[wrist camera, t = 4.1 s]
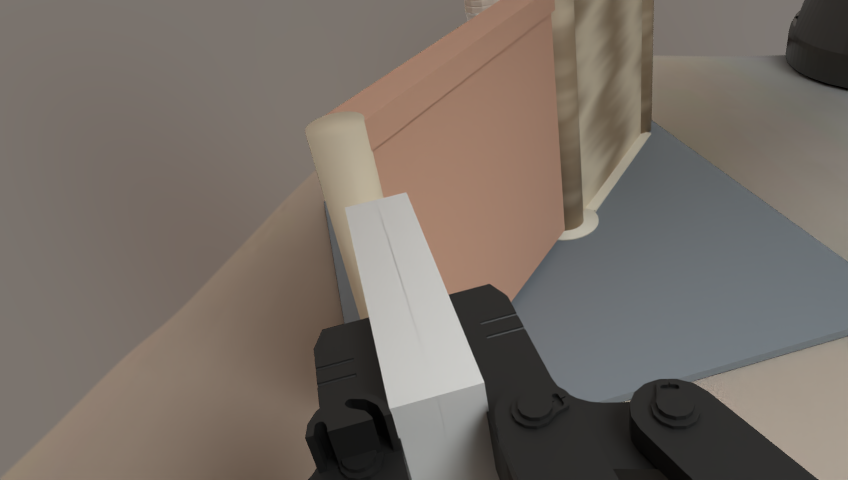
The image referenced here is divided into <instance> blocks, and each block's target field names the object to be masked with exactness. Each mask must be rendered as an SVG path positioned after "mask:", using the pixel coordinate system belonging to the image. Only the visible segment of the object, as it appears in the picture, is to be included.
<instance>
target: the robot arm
mask: <svg viewBox="0 0 848 480" xmlns="http://www.w3.org/2000/svg"><path fill="white" fill-rule="evenodd" d="M786 59H787V61H788V63H789V64H790V65H791V66H792V67H793V68H794V69H795V70H797V71H798V72H800V73H802V74H804V75H806V76H808V77H810V78H813V79H815V80H818V81H821V82H825V83H828V84H832V85H836V86H840V87H845V88H848V0H805V1H804V3H803V6H802V8H801V11H799V12H798V13H797V14H796V16H795V17H794V19H793V21H792V23H791V26H790V29H789V35H788V42H787V49H786ZM345 211H346V215H347V220H348V224H349V229H350V233H351V238H352V242H353V247H354V251H355V256H356V261H357V265H358V270H359V274H360V279H361V283H362V288H363V292H364V297H365V301H366V306H367V310H368V315H369V317H368V318H365V319H361V320H357V321H353V322H349V323H346V324H342V325H338V326H334V327H331V328H327V329H323V330H322V332H321V334H320V336H319V338H318V341H317V343H316V345H315V348H314V356H315V366H316V371H317V372H316V376H317V385H318V397H319V407H320V409H318V410H317V411H316V412H315V414H314V415H313V417H312V418H311V420H310V421H309V423H308V425H307V431H306V437H305V439H306V441H307V444H308V446H309V449H310V451H311V454H312V456H313V459H314V461H315V464H316V467H317V469H316V470H315V472H314V473H313V475H312V476H311V477H310V478H309V479H308V480H818V479H817V478H815V477H814V476H813V475H812V474H810V473H809V472H808V471H807V470H805V469H804V468H803V467H802V466H800V465H799V464H798V463H797V462H795V461H794V460H793V459H792V458H790V457H789V456H788V455H787V454H785V453H784V452H783V451H782V450H780V449H779V448H778V447H777V446H775V445H774V444H773V443H772V442H770V441H769V440H768V439H767V438H765V437H764V436H763V435H762V434H760V433H759V432H758V431H757V430H755V429H754V428H753V427H752V426H750V425H749V424H748V423H747V422H745V421H744V420H743V419H742V418H740V417H739V416H738V415H737V414H735V413H734V412H733V411H732V410H730V409H729V408H728V407H727V406H725V405H724V404H723V403H722V402H720V401H719V400H718V399H717V398H715V397H714V396H713V395H712V394H710V393H709V392H708V391H706V390H704V389H703V388H701V387H699V386H697V385H696V384H694V383H691V382H687V381H683V380H679V379H658V380H654V381H651V382H648V383H645V384H644V385H642V386H641V387H640V388H639V389H638V390H636V391H635V392H634V394H633V396H632V399H631V401H630V402H610V403H602V402H590V401H586V400H582V399H578V398H576V397H574V396H572V395H570V394H569V393H568V392H567V391H566V390H564V389H562V388H560V387H559V386H557V384H556V383H555V382H554V380H553V379H552V377H551V376H550V374H549V372H548V370H547V368H546V366H545V364H544V363H543V361H542V359H541V357H540V355H539V353H538V352H537V350H536V348H535V346H534V344H533V342H532V340H531V339H530V337H529V335H528V333H527V331H526V329H524V326H523V324H522V322H521V320H520V318H519V316H517V313H516V311H515V309H514V307H513V305H512V303H511V302H510V300H509V298H508V296H507V295H506V294H504V293H503V292H501V291H500V290H498V289H497V288H495V287H494V286H492V285H491V284H487V285H483V286H479V287H475V288H472V289H468V290H464V291H460V292H457V293H453V294H449V295H448V293H447V290H446V288H445V285H444V283H443V280H442V278H441V275H440V273H439V271H438V268H437V266H436V263H435V261H434V258H433V256H432V254H431V251H430V249H429V246H428V244H427V241H426V239H425V236H424V234H423V232H422V229H421V227H420V224H419V222H418V219H417V217H416V214H415V212H414V210H413V207H412V205H411V202H410V200H409V197H408V195H407V193H406V192H405V193H401V194H397V195H393V196H389V197H385V198H381V199H377V200H373V201H369V202H365V203H361V204H357V205H353V206H349V207H345Z"/></svg>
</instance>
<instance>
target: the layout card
mask: <svg viewBox="0 0 848 480" xmlns="http://www.w3.org/2000/svg"><path fill="white" fill-rule="evenodd" d="M324 205H325V211H326V217H327V223H328V229H329V235H330V241H331V247H332V253H333V258H334V264H335V270H336V276H337V282H338V288H339V294H340V300H341V306H342V312H343V318H344V324H346V323H349V322H353V321H357V320H360V316H359V313H358V310H357V306H356V303H355V299H354V296H353V293H352V289H351V286H350V282H349V279H348V276H347V272H346V269H345V266H344V262H343V259H342V255H341V252H340V249H339V245H338V242H337V239H336V235H335V232H334V228H333V225H332V222H331V218H330V215H329V212H328V208H327V205H326V201H324ZM583 218H584V221H583V223H582V225H581V226H579V227H578V228H575V229H573V230H568V231H564V232H563V233H562V234H561V236H560V237H559V239H558V240H557V241H556V243H555V244H554V245H553V247H552V248H551V249H550V251H549V252H548V253H547V255H546V256H545V257H544V259H543V260H542V261H541V263H540V264H539V265H538V267H537V268H536V269H535V271H534V272H533V273H532V275H531V276H530V277H529V279H528V280H527V281H526V283H525V284H524V285H523V287H522V288H521V289H520V291H519V292H518V293H517V295H516V296H515V298H514V299H513V300H512V302H511V303H512V305H513V307H514V309H515V311H516V313H517V316H519V318H520V320H521V322H522V324H523V326H524V329H526V331H527V333H528V335H529V337H530V339H531V340H532V342H533V344H534V346H535V348H536V350H537V352H538V353H539V355H540V357H541V359H542V361H543V363H544V364H545V366H546V368H547V370H548V372H549V374H550V376H551V377H552V379H553V380H554V382H555V383H556V384H557V386H559V387H560V388H562V389H564V390H566V391H567V392H568V393H569V394H570V395H572V396H574V397H576V398H578V399H582V400H586V401H590V402H602V403H610V402H623V401H627V400H630V399H632V396H633V394H634V392H635V391H636V390H638V389H639V388H640V387H641V386H642V385H644V384H645V383H648V382H651V381H654V380H658V379H679V380H683V381H687V382H692V381H695V380H699V379H702V378H705V377H709V376H712V375H716V374H719V373H723V372H726V371H729V370H733V369H736V368H740V367H743V366H746V365H750V364H753V363H757V362H760V361H764V360H767V359H770V358H774V357H777V356H781V355H784V354H788V353H791V352H794V351H798V350H801V349H805V348H808V347H811V346H815V345H818V344H822V343H825V342H829V341H832V340H835V339H839V338H842V337H846V336H848V262H847V261H846V260H844V259H843V258H842V257H840V256H839V255H838V254H836V253H835V252H833V251H832V250H831V249H829V248H828V247H826V246H825V245H824V244H822V243H821V242H820V241H818V240H817V239H815V238H814V237H813V236H811V235H810V234H808V233H807V232H806V231H804V230H803V229H802V228H800V227H799V226H797V225H796V224H795V223H793V222H792V221H790V220H789V219H788V218H786V217H785V216H784V215H782V214H781V213H779V212H778V211H777V210H775V209H774V208H772V207H771V206H770V205H768V204H767V203H766V202H764V201H763V200H761V199H760V198H759V197H757V196H756V195H754V194H753V193H752V192H750V191H749V190H748V189H746V188H745V187H743V186H742V185H741V184H739V183H738V182H736V181H735V180H734V179H732V178H731V177H730V176H728V175H727V174H725V173H724V172H723V171H721V170H720V169H718V168H717V167H716V166H714V165H713V164H711V163H710V162H709V161H707V160H706V159H705V158H703V157H702V156H700V155H699V154H698V153H696V152H695V151H693V150H692V149H691V148H689V147H688V146H687V145H685V144H684V143H682V142H681V141H680V140H678V139H677V138H675V137H674V136H673V135H671V134H670V133H669V132H667V131H666V130H664V129H663V128H662V127H660V126H659V125H657V124H656V123H655V122H653V121H652V120H651V131H650V132H645V133H642V134H640V135H639V137H638V138H637V139H636V141H635V142H634V144H633V145H632V146H631V148H630V149H629V150H628V152H627V153H626V154H625V156H624V157H623V158H622V160H621V161H620V163H619V164H618V165H617V167H616V168H615V169H614V171H613V172H612V173H611V175H610V176H609V177H608V179H607V180H606V182H605V183H604V184H603V186H602V187H601V188H600V190H599V191H598V192H597V194H596V195H595V196H594V198H593V199H592V201H591V202H590V203H589V205H588V206H587V207H586V209H585V210H584V211H583Z"/></svg>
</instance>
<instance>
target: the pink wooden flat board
mask: <svg viewBox="0 0 848 480" xmlns="http://www.w3.org/2000/svg"><path fill="white" fill-rule="evenodd" d="M554 10H555V0H499V1H498V2H496V3H495V4H493V5H492V6H490V7H489V8H487V9H485V10H484V11H482V12H481V13H479V14H478V15H476V16H475V17H473V18H472V19H470V20H469V21H467V22H466V23H464V24H463V25H461V26H460V27H458V28H457V29H455V30H454V31H452V32H451V33H449V34H448V35H446V36H444V37H443V38H441V39H440V40H438V41H437V42H435V43H434V44H433V45H431V46H429V47H428V48H426V49H425V50H423V51H422V52H420V53H419V54H417V55H416V56H414V57H413V58H411V59H410V60H408V61H406V62H405V63H403V64H402V65H401V66H399V67H397V68H396V69H394V70H393V71H391V72H390V73H388V74H387V75H385V76H384V77H382V78H381V79H379V80H378V81H376V82H375V83H373V84H372V85H370V86H369V87H367V88H365V89H364V90H362V91H361V92H359V93H358V94H357V95H355V96H353V97H352V98H350V99H349V100H347V101H346V102H344V103H343V104H341V105H340V106H338V107H337V108H335V109H334V110H332V111H331V112H329V113H328V114H326V115H325V116H323V117H320V118H318V119H316V120H314V121H313V122H311V123H310V124H309V125H308V126H307V127H306V128H305V134H306V137H307V141H308V144H309V147H310V151H311V154H312V158H313V161H314V164H315V168H316V171H317V174H318V178H319V181H320V185H321V188H322V191H323V195H324V198H325V201H326V205H327V208H328V212H329V215H330V218H331V222H332V225H333V228H334V232H335V235H336V239H337V242H338V245H339V249H340V252H341V255H342V259H343V262H344V266H345V269H346V272H347V276H348V279H349V282H350V286H351V289H352V293H353V296H354V299H355V303H356V306H357V310H358V313H359V316H360V320H361V319H365V318H368V317H369V315H368V310H367V306H366V301H365V297H364V292H363V288H362V283H361V279H360V274H359V270H358V265H357V261H356V256H355V251H354V247H353V242H352V238H351V233H350V229H349V224H348V220H347V215H346V211H345V207H349V206H353V205H357V204H361V203H365V202H369V201H373V200H377V199H381V198H385V197H389V196H393V195H397V194H401V193H405V192H406V193H407V195H408V197H409V200H410V202H411V205H412V207H413V210H414V212H415V214H416V217H417V219H418V222H419V224H420V227H421V229H422V232H423V234H424V236H425V239H426V241H427V244H428V246H429V249H430V251H431V254H432V256H433V258H434V261H435V263H436V266H437V268H438V271H439V273H440V275H441V278H442V280H443V283H444V285H445V288H446V290H447V293H448V295H449V294H453V293H457V292H460V291H464V290H468V289H472V288H475V287H479V286H483V285H487V284H491V285H492V286H494V287H495V288H497V289H498V290H500V291H501V292H503V293H504V294H506V295H507V296H508V298H509V300H510V302H512V300H513V299H514V298H515V296H516V295H517V293H518V292H519V291H520V289H521V288H522V287H523V285H524V284H525V283H526V281H527V280H528V279H529V277H530V276H531V275H532V273H533V272H534V271H535V269H536V268H537V267H538V265H539V264H540V263H541V261H542V260H543V259H544V257H545V256H546V255H547V253H548V252H549V251H550V249H551V248H552V247H553V245H554V244H555V243H556V241H557V240H558V239H559V237H560V236H561V234H562V233H563V232H564V230H565V224H564V208H563V192H562V177H561V161H560V145H559V130H558V114H557V98H556V83H555V67H554V51H553V36H552V20H551V13H552V12H553V11H554Z"/></svg>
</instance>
